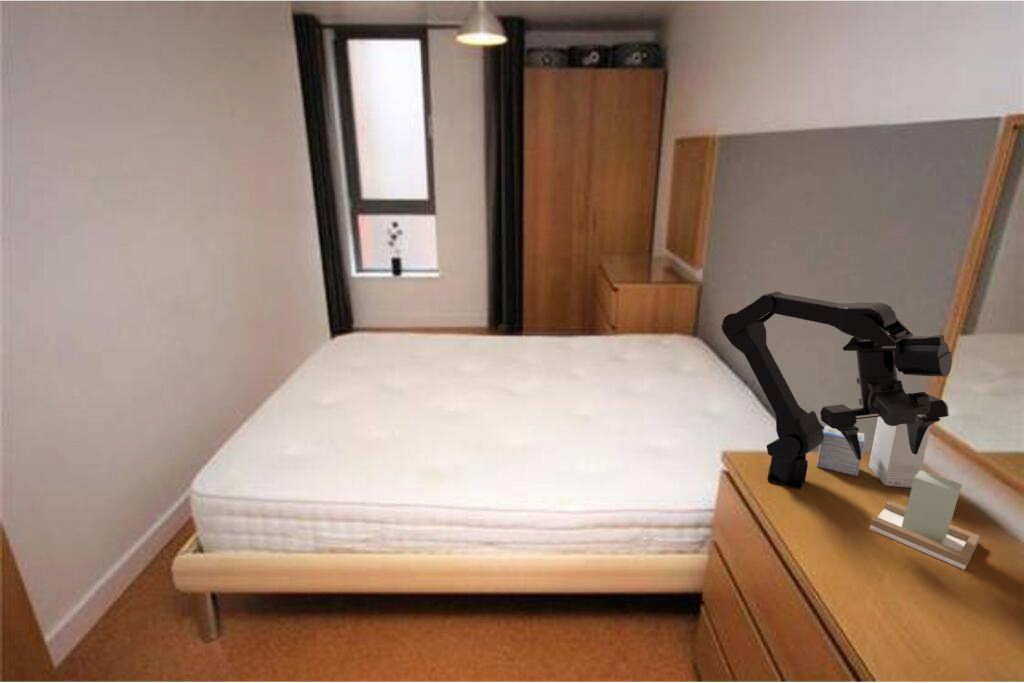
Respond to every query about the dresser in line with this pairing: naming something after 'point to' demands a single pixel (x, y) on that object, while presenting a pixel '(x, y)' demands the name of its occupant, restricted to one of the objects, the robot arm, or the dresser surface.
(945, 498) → the door panel
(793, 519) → the dresser surface
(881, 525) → the track
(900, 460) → the skincare box
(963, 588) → the dresser surface
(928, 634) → the dresser surface
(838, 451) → the medicine box
